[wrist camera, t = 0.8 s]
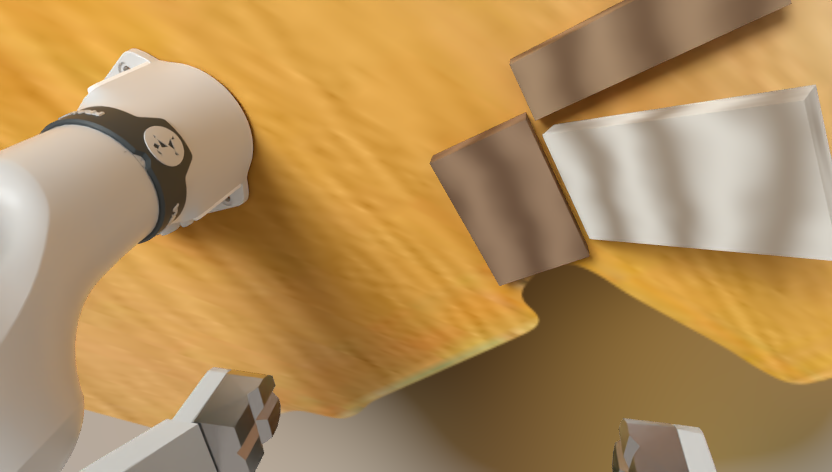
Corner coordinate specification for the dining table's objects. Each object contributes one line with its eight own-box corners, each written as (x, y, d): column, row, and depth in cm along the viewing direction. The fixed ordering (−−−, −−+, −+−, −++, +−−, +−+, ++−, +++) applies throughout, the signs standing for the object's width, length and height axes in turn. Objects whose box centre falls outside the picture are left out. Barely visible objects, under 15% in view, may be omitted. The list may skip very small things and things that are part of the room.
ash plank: (599, 227, 51) (589, 238, 50) (553, 124, 46) (542, 135, 45) (849, 244, 34) (839, 261, 33) (815, 84, 29) (803, 100, 29)
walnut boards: (500, 275, 57) (499, 285, 55) (408, 112, 49) (404, 118, 47) (817, 168, 45) (829, 177, 43) (763, -73, 37) (775, -73, 35)
